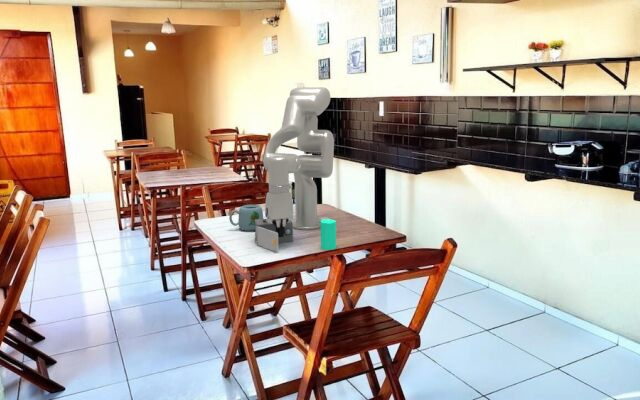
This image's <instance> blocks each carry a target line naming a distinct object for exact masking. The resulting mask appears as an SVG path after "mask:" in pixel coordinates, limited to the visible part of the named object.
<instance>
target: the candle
mask: <svg viewBox="0 0 640 400" xmlns="http://www.w3.org/2000/svg"><path fill="white" fill-rule="evenodd" d="M327 218H328V219H324V220H321V226H320V249H322V250H324V251H325V250H326V251H329V250H335V249H336V248H337V220H334V219H331V218H329V217H327Z"/></svg>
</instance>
